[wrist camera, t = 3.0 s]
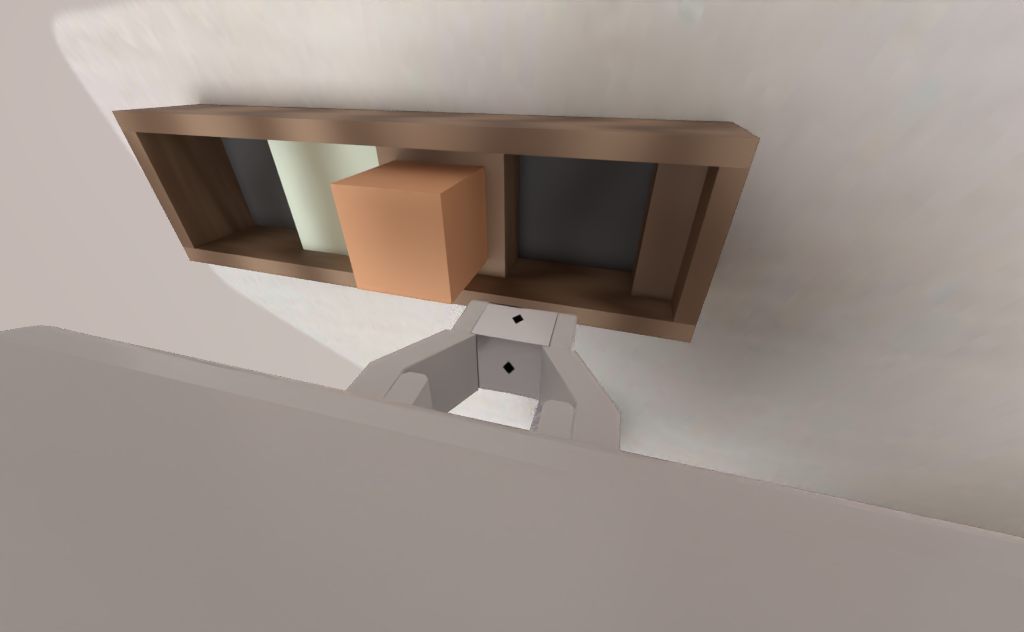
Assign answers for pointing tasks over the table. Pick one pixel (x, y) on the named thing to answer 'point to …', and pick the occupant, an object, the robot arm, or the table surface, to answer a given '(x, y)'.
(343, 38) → the table surface
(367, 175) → the cube
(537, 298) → the frame
